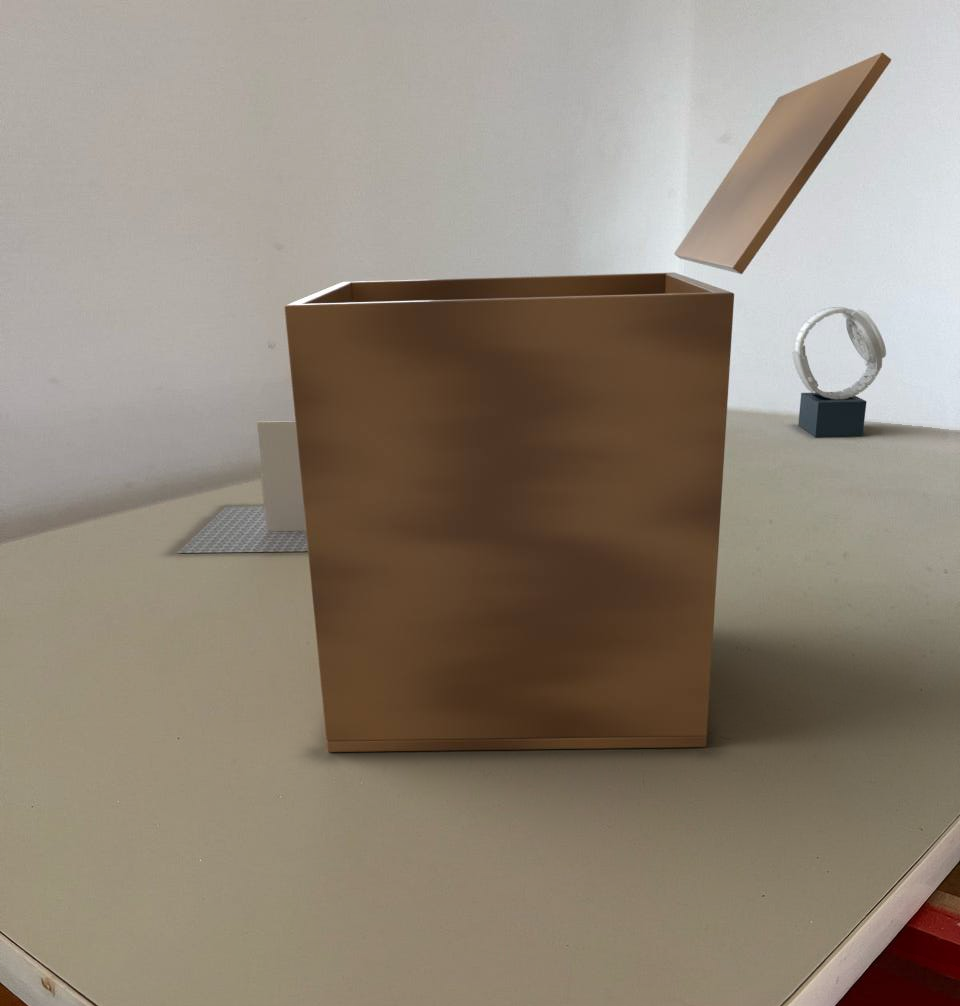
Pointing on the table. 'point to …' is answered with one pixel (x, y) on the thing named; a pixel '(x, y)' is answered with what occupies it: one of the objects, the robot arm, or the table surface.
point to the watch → (843, 408)
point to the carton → (513, 507)
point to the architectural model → (283, 503)
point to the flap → (776, 166)
